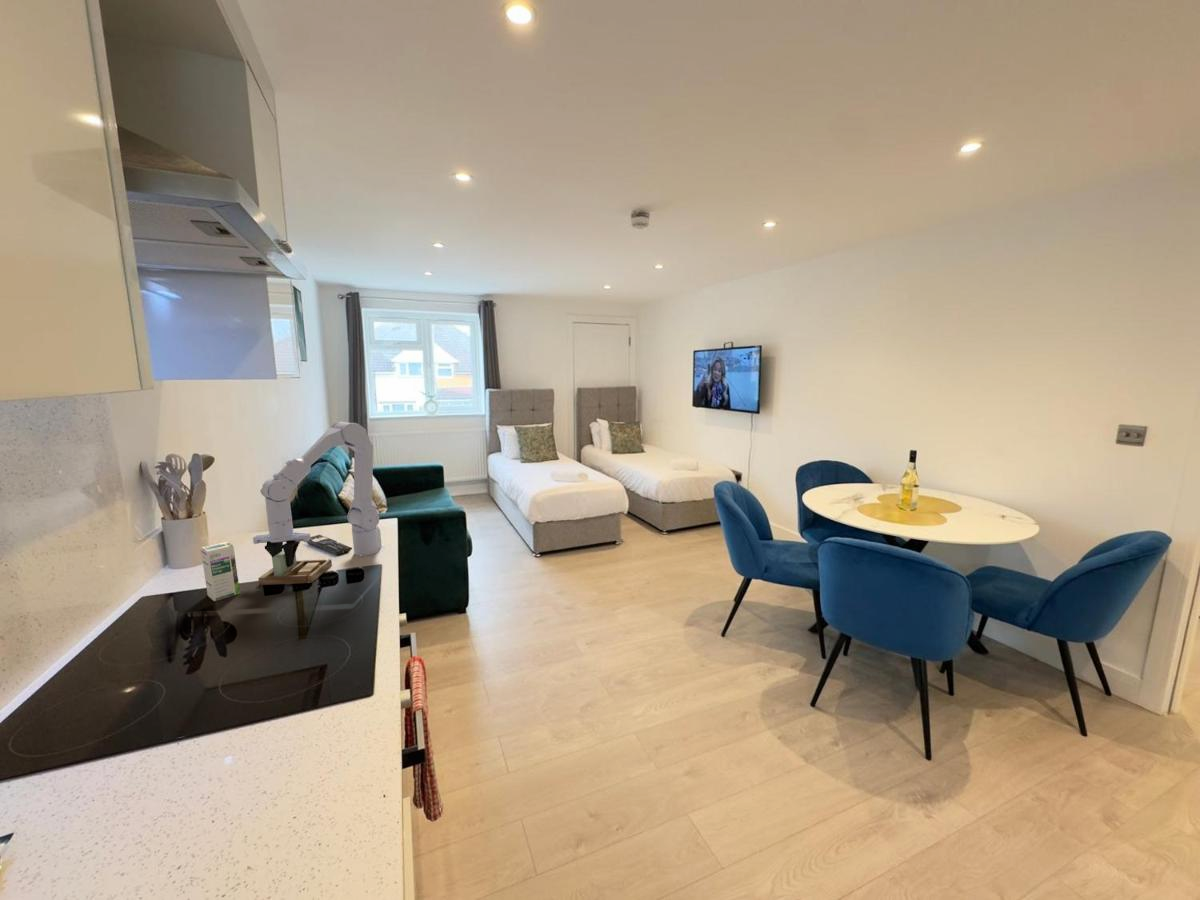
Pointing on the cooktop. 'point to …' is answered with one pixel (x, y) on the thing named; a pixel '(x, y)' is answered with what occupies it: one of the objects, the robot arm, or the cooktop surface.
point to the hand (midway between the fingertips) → (285, 565)
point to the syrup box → (220, 571)
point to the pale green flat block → (281, 564)
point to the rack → (295, 574)
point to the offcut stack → (309, 569)
